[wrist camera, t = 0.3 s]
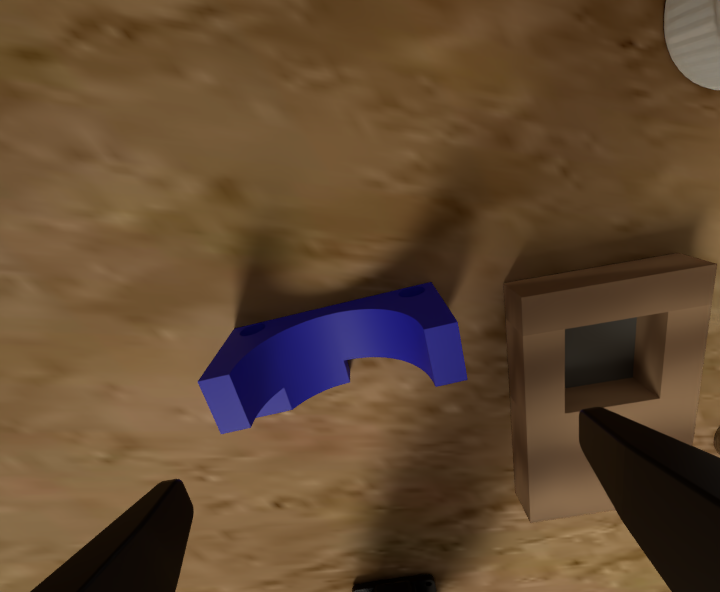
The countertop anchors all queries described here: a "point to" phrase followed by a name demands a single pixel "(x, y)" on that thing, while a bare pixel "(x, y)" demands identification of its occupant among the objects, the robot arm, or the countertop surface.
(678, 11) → the ramekin
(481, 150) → the countertop surface
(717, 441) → the round peg
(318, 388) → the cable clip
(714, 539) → the robot arm
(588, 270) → the socket board
